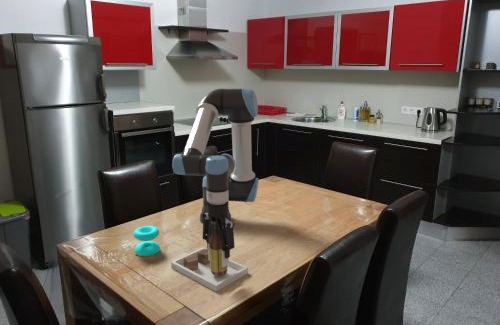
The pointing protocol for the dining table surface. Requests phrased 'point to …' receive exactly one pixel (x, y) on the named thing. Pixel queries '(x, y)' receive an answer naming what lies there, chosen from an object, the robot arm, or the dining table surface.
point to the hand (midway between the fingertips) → (218, 262)
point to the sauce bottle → (216, 252)
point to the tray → (205, 275)
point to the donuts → (146, 241)
